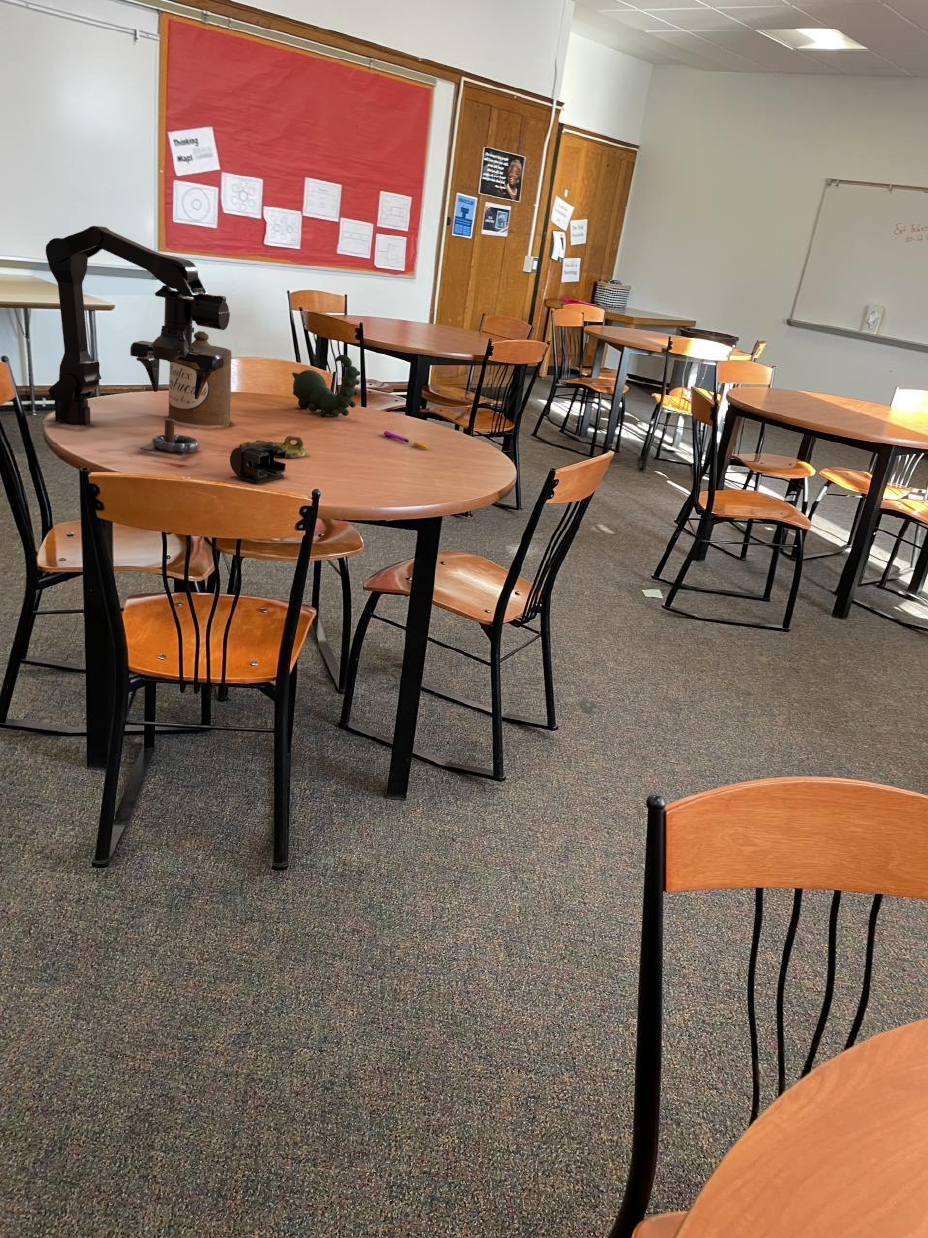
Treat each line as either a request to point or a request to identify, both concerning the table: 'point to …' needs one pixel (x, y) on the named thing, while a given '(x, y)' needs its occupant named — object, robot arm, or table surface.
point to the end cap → (258, 462)
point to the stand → (165, 438)
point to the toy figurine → (326, 390)
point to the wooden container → (213, 395)
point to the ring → (176, 444)
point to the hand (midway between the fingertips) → (176, 395)
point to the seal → (285, 446)
